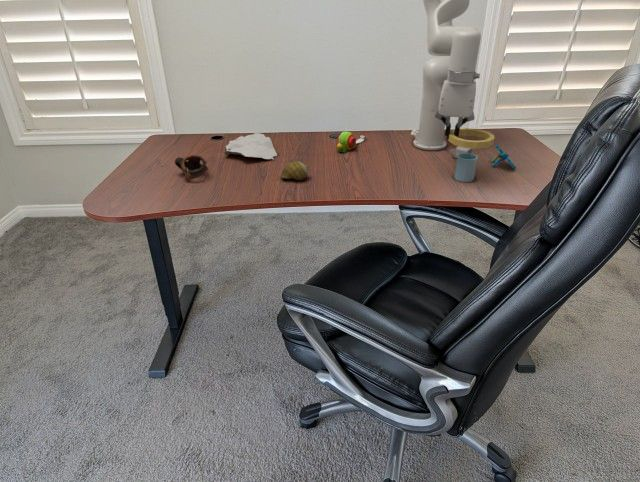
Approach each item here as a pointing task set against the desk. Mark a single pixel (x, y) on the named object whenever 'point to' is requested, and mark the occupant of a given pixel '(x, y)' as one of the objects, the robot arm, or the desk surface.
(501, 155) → the blue branched piece
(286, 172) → the seashell
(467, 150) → the usb wall charger
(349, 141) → the toy measuring tape
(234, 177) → the desk surface
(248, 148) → the paper
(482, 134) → the ring
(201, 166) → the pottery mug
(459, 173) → the cup
